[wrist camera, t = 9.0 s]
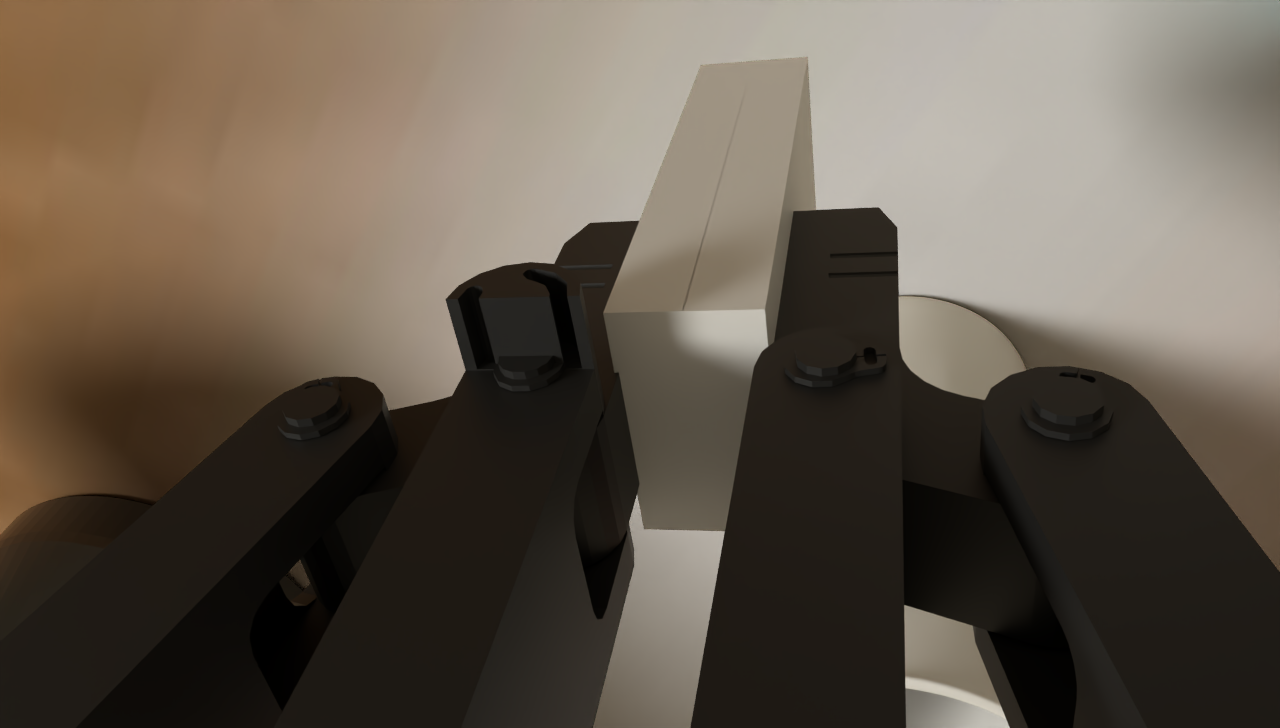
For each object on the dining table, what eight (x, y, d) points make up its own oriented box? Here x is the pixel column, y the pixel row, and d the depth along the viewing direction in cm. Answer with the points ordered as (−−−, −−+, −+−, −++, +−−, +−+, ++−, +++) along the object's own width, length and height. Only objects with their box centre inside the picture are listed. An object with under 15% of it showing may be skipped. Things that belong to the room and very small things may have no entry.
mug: (788, 268, 27) (709, 645, 17) (1068, 299, 26) (1146, 721, 16) (762, 548, 33) (694, 940, 23) (988, 583, 32) (1011, 1011, 22)
